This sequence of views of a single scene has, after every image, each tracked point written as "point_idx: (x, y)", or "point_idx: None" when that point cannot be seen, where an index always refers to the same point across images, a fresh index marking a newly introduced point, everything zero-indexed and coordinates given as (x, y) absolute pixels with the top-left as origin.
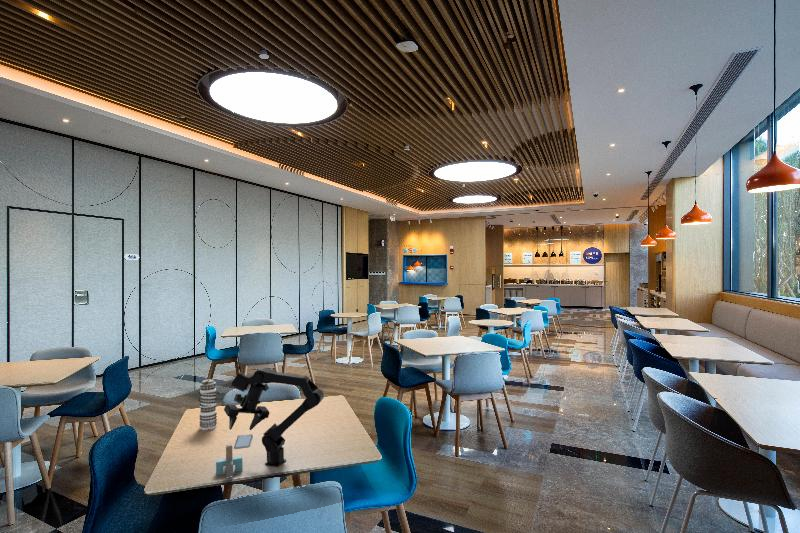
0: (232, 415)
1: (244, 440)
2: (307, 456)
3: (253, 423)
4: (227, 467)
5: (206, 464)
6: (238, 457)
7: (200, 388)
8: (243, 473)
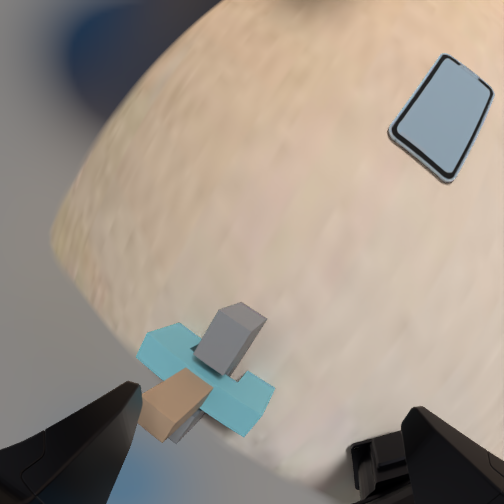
0: None
1: (455, 106)
2: None
3: (432, 492)
4: None
5: (200, 200)
6: (235, 416)
7: None
8: None
